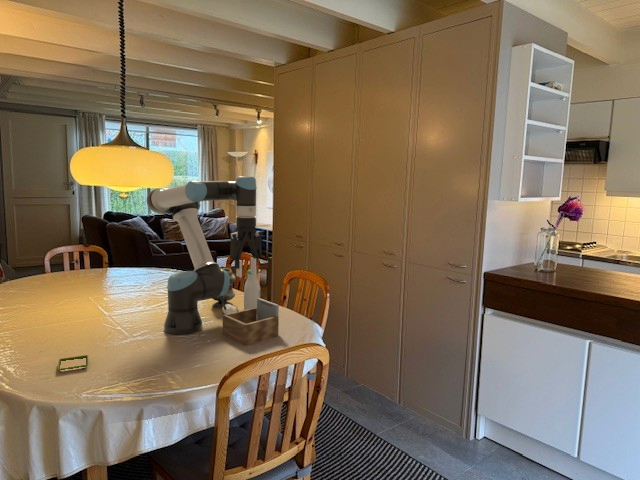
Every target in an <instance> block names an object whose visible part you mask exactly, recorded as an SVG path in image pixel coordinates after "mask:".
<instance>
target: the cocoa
mask: <svg viewBox="0 0 640 480" xmlns="http://www.w3.org/2000/svg"><path fill="white" fill-rule="evenodd" d="M220 297H221V301H222V304H223V308H221V310H222V315H225V314H229V313H234V312H238V311H239V310H238V308H237V307H236V306H234V305H233V306H232V305H230V304H227V305H225V303H224V300H223V297H222V296H221V295H220Z"/></svg>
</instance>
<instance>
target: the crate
mask: <svg viewBox="0 0 640 480" xmlns="http://www.w3.org/2000/svg"><path fill="white" fill-rule="evenodd" d="M279 317H280V316H279V315H278V316H274V317H271V318H267V319H263V320H259V321H257V308H251V309H247V310H244V309H243V310H238V312H234V313H229V314H225V315H223V314H222V335H223V336H225V337H228V338H230V339H231V340H234V341H235V342H237V343H240V344H242V345H244V346H248V345H252V344H255V343H259V342H262V341H265V340H268V339H272V338H275V337H279V327H280V326H279V324H280V323H279V320H280V319H279Z"/></svg>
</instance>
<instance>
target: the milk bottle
mask: <svg viewBox="0 0 640 480" xmlns="http://www.w3.org/2000/svg"><path fill="white" fill-rule="evenodd" d="M246 271H247V272H246V273H247V279H246V281H245V283H244V287H243V310H247V309H251V308H257V298H260V299H261V285H260V282H259V280H258V270H257V269H256V275H253V274H251V269H248V270H246Z"/></svg>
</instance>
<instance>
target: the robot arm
mask: <svg viewBox="0 0 640 480" xmlns="http://www.w3.org/2000/svg"><path fill="white" fill-rule="evenodd" d="M207 201H208V202H209V201H236V203H235V204H236V205H235V206H236V207H235V210H236V211H235V215H236V231H235V232H230V233H229V238H230V251H229V258H230V260H234V269H235V270H236V272H235V273H236V274H235V275H236V276H235V277H238V278H242V277H243V260H242V259H241V256H242V253H243V249H244V245H245V244H246V242H247V243H248V245H249V249H250V252H251V256H252V257H250V270H251V274H253V275H256V270H257V266H258V264H259V263H258V261H259V260H258V259H260V257H261V256H263V248H262V235H263V232H262V231H260V230H257V229H256V227H257V217H256V216H257V180H256V178H255V176H241V175H239V176H238V175H237V177H236V179H235V180H234V181H233V180H198V179H197V180H191V181H188V182H187V183H186V184H183V185H179V186H174V187H158V188H155V189H153V190H151V191H150V192H148V194H147V195H146V205H147V206H148V209H150V210H151V211H152V212H154V213H156V214H160V215H171V216H172V219H173V221H175V222H178V227H179V228H180V231H181V234H182V235H183V236H182V237H183V238H184V242H185V245H186V248H187V251H188V253H189V256H190V259H191V261H192V264H193V267H194V269H193V270H186V271H184V270H183V271H178V272H174V273H173V274H171V275H170V276H169V277H168V278H167V286H166V287H167V308H168V311H167V314H166V317H165V321H164V324H163V327H164V329H163V330H164V332H165V333H167V334H170V335H188V334H192V333H193V334H194V333H196V332H199V331H200V330H202V329H203V320H202V318H201V314H200V312H199V310H198V309H199V308H198V302H201V301H205V300H209V299H210V300H211V299H212V298H217V297H220V295H221V296H223V295H225V294H226V293H227V291H228V289H229V285H230V279H229V275H228V273H227V272H226V271H225V270H223V269H220V268H221V267H220V266H219V265H220V264H219V263H217V262H215V261H214V258H213V257H212V253H211V251H210V248H209V245H208V242H207V240H206V237H205V234H204V231H203V229H202V227H201V223H200V221H199V218H198V214H199V211H200V208H201V202H207Z"/></svg>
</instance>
